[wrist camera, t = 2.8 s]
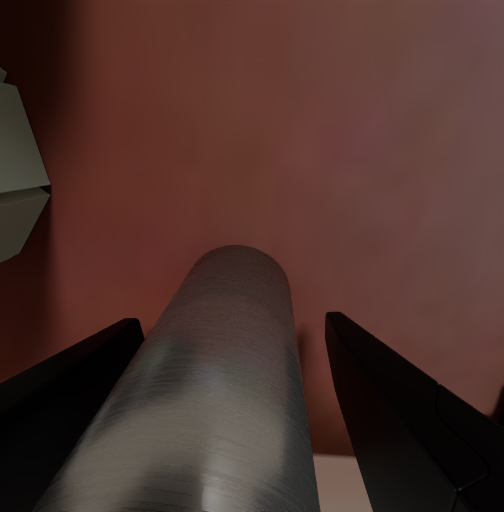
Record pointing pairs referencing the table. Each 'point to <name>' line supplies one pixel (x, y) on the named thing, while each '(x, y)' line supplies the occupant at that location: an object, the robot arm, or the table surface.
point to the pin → (203, 406)
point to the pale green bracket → (18, 173)
